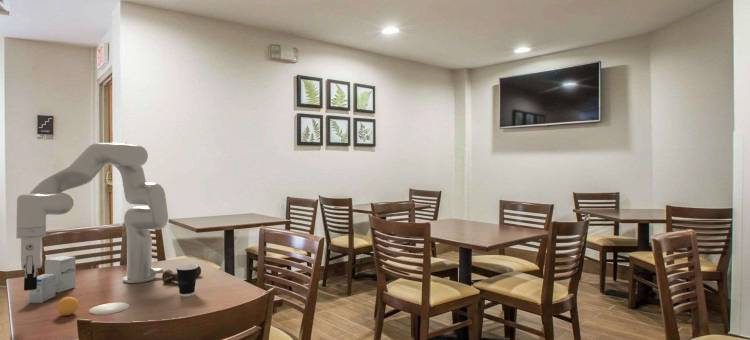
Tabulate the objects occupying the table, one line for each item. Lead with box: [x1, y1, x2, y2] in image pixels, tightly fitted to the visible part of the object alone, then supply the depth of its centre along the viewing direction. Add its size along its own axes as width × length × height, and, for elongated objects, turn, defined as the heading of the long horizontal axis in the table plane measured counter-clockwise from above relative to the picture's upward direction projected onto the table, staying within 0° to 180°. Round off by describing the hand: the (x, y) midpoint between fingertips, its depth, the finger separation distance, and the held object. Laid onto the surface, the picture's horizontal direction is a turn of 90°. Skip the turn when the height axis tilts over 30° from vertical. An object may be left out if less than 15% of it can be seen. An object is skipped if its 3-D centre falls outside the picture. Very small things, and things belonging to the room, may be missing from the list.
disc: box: [88, 302, 130, 316], centre depth 156 cm, size 12×12×1 cm
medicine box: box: [28, 273, 56, 304], centre depth 164 cm, size 8×4×9 cm, turn 5°
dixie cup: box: [175, 263, 199, 297], centre depth 172 cm, size 8×8×11 cm
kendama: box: [161, 265, 202, 284], centre depth 192 cm, size 6×10×20 cm
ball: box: [56, 296, 80, 316], centre depth 149 cm, size 6×6×6 cm
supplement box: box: [44, 255, 76, 293], centre depth 177 cm, size 7×7×13 cm
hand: (30, 289), depth 143 cm, fingers closed
